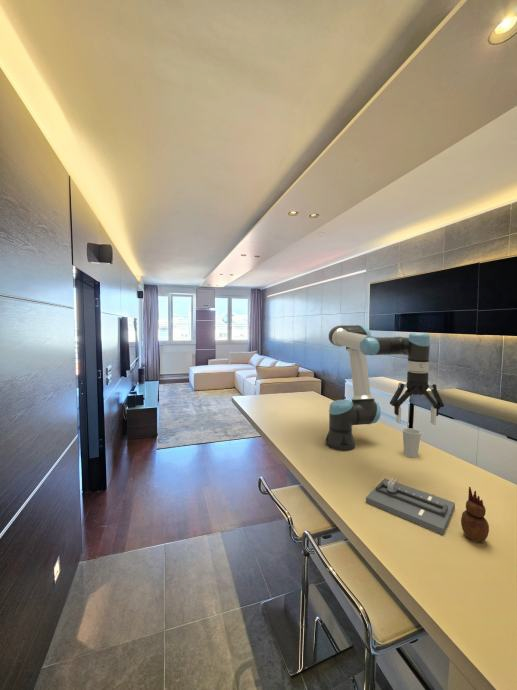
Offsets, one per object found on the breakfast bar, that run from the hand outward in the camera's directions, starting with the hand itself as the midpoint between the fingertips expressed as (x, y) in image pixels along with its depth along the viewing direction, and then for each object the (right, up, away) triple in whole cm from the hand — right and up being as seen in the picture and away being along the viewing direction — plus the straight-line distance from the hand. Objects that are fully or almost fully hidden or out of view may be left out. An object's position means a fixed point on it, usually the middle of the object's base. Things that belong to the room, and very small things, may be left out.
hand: (415, 423), depth 120 cm
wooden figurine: (+1, -26, -32) cm, 41 cm away
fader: (-15, -22, -12) cm, 30 cm away
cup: (+11, -22, +24) cm, 35 cm away
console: (-11, -25, -16) cm, 31 cm away
